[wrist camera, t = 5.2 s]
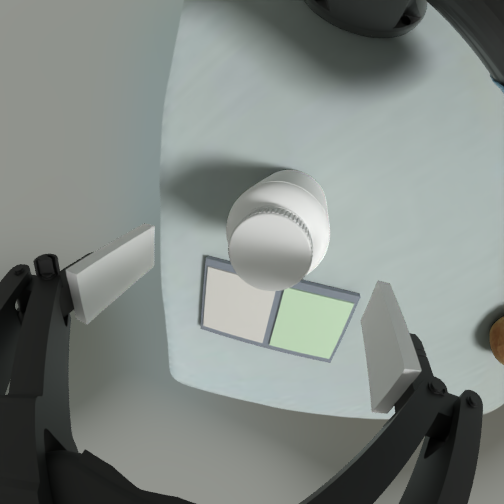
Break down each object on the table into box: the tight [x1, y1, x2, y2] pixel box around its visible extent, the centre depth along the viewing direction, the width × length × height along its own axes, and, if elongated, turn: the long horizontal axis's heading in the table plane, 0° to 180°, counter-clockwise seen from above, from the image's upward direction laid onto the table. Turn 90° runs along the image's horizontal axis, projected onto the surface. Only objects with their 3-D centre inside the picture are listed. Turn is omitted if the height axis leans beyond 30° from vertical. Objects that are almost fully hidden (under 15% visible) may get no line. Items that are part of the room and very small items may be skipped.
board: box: [201, 256, 360, 363], centre depth 36 cm, size 12×20×1 cm, turn 81°
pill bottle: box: [226, 170, 330, 291], centre depth 23 cm, size 8×8×15 cm
